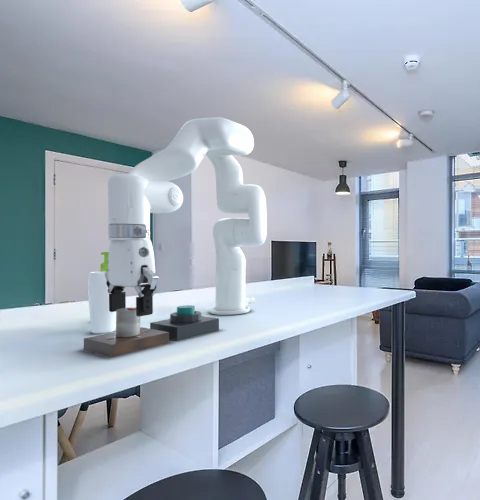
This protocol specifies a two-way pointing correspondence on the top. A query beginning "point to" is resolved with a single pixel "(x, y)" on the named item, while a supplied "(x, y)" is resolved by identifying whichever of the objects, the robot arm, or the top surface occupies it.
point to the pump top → (185, 310)
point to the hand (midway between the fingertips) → (130, 312)
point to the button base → (186, 325)
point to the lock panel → (125, 342)
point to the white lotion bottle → (100, 304)
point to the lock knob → (127, 322)
